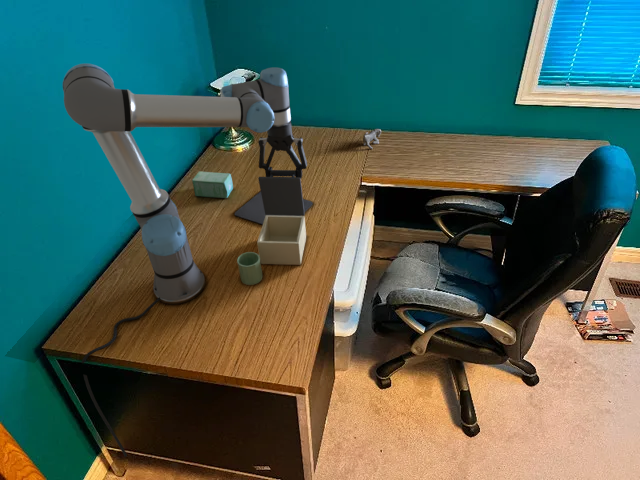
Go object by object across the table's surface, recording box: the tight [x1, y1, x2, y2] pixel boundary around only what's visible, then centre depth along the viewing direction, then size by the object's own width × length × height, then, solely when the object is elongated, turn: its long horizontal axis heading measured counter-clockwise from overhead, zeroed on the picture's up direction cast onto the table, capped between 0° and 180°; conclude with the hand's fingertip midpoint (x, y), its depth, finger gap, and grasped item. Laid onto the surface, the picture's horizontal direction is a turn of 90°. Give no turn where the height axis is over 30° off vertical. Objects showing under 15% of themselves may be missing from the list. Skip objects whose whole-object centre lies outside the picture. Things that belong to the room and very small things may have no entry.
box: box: [191, 170, 234, 199], centre depth 189 cm, size 7×14×8 cm, turn 79°
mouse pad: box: [234, 191, 313, 226], centre depth 180 cm, size 23×20×1 cm
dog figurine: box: [362, 128, 382, 150], centre depth 215 cm, size 12×6×7 cm, turn 138°
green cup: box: [236, 251, 264, 286], centre depth 148 cm, size 7×7×8 cm
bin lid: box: [257, 169, 306, 216], centre depth 157 cm, size 16×13×7 cm
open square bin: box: [256, 215, 307, 266], centre depth 158 cm, size 15×13×9 cm
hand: (285, 186), depth 160 cm, fingers closed on bin lid, 8 cm apart
